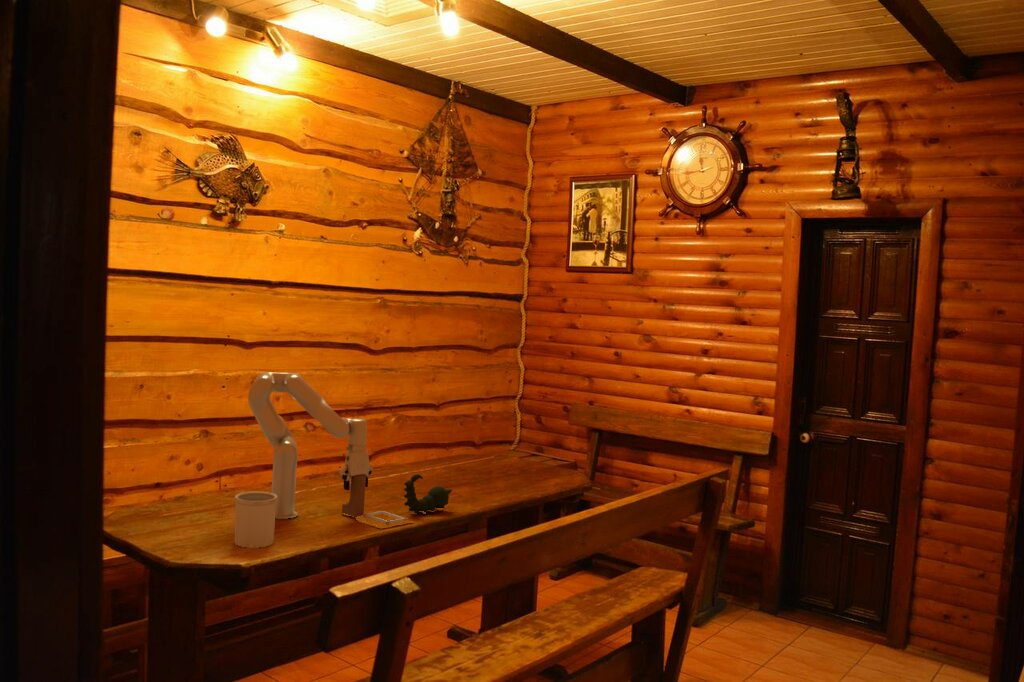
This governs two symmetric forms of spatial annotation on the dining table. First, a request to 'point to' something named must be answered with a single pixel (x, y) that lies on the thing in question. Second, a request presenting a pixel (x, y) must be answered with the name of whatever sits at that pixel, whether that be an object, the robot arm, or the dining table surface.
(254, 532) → the utensil holder
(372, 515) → the dock tray
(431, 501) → the toy figurine
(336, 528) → the dining table surface
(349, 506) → the wooden block
